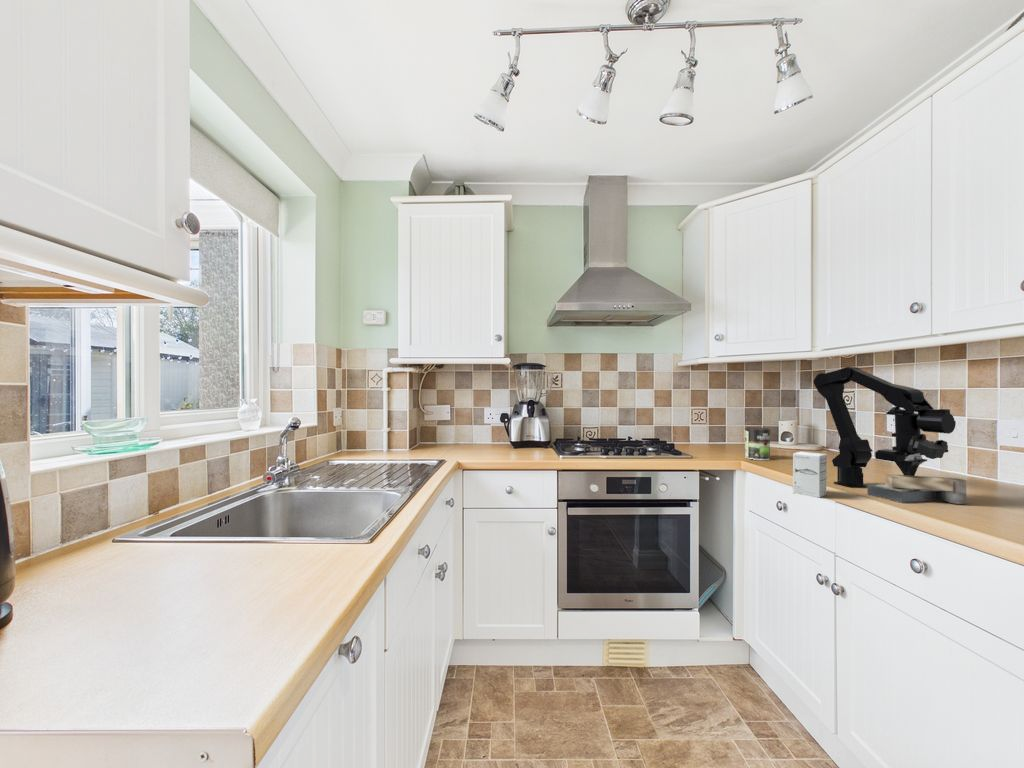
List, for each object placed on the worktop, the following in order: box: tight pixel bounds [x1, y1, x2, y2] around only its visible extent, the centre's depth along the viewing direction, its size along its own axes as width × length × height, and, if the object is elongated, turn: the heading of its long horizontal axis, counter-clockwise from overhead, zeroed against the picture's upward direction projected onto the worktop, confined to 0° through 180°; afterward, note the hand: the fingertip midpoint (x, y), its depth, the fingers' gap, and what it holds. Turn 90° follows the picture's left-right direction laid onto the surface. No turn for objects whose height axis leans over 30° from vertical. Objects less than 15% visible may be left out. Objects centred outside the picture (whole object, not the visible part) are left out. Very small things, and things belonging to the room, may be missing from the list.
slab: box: [867, 483, 945, 504], centre depth 133 cm, size 10×20×3 cm, turn 101°
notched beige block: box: [884, 473, 967, 505], centre depth 129 cm, size 18×4×6 cm, turn 69°
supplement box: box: [792, 450, 828, 499], centre depth 137 cm, size 7×7×13 cm
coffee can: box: [744, 427, 771, 461], centre depth 205 cm, size 10×10×14 cm
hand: (909, 482), depth 133 cm, fingers closed
